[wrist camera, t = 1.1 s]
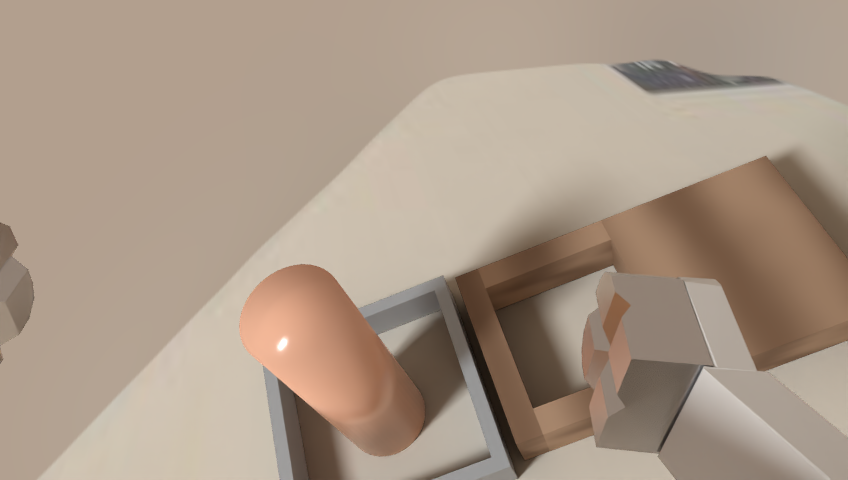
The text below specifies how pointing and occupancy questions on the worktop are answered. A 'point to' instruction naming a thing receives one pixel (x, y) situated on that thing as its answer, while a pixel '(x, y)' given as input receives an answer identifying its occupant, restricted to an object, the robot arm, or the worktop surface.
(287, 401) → the grey square frame
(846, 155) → the worktop surface
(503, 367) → the partly covered box
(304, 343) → the peach cylinder
